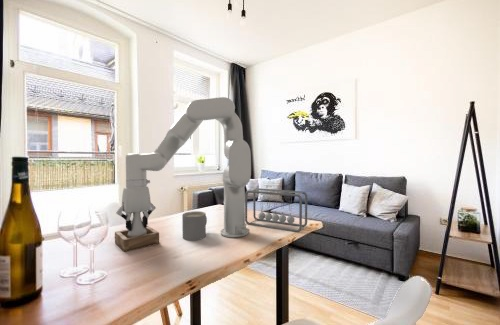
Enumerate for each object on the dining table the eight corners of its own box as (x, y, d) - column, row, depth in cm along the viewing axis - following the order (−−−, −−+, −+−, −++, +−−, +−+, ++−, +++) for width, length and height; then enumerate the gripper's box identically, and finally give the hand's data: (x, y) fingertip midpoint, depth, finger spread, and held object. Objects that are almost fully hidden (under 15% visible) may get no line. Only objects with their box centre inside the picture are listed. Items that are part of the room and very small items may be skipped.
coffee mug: (192, 242, 100) (192, 217, 99) (177, 237, 105) (177, 214, 105) (215, 233, 110) (215, 211, 110) (201, 229, 116) (200, 209, 116)
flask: (150, 232, 101) (149, 209, 101) (140, 238, 94) (140, 213, 94) (133, 232, 102) (133, 208, 102) (123, 238, 95) (122, 212, 95)
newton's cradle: (307, 227, 120) (307, 191, 120) (301, 233, 111) (301, 194, 111) (254, 219, 135) (254, 187, 134) (244, 224, 126) (244, 190, 125)
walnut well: (159, 243, 98) (159, 232, 98) (124, 252, 89) (124, 240, 89) (147, 235, 107) (147, 225, 107) (114, 242, 99) (114, 231, 98)
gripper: (154, 181, 106) (154, 222, 107) (110, 184, 95) (111, 230, 95) (161, 182, 101) (161, 226, 101) (115, 186, 89) (116, 235, 90)
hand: (137, 227), depth 98 cm, fingers closed on flask, 5 cm apart
